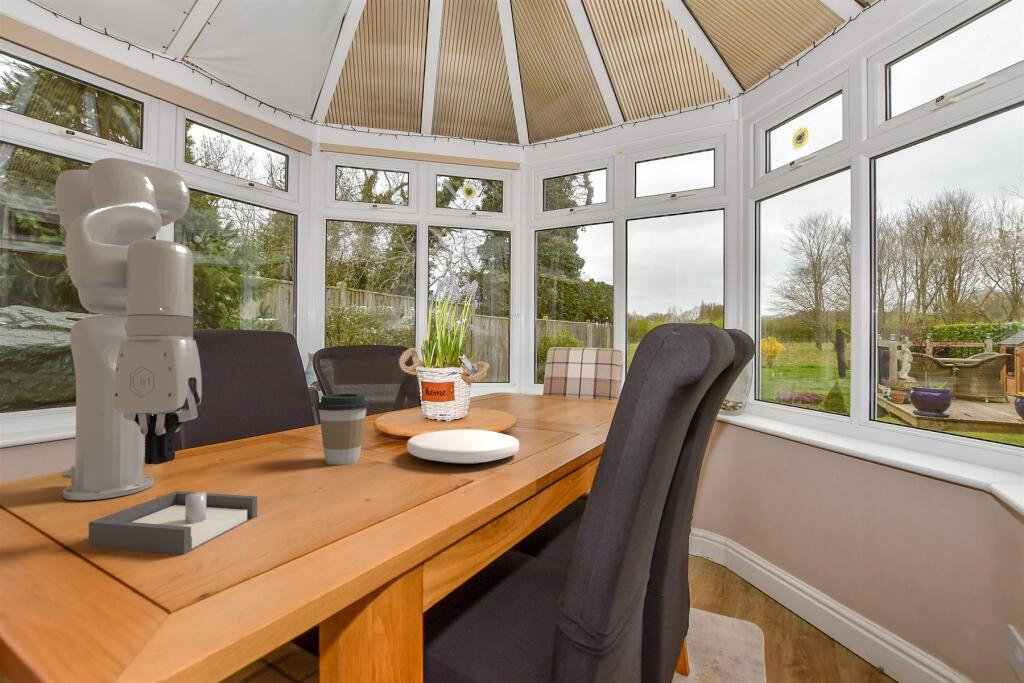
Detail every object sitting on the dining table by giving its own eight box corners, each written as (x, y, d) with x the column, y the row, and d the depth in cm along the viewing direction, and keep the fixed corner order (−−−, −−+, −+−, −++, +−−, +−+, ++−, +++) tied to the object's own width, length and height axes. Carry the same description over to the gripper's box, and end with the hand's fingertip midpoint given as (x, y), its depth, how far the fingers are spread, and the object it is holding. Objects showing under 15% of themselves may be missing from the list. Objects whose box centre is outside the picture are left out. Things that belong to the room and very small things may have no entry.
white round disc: (433, 425, 132) (528, 430, 127) (431, 449, 132) (527, 455, 126) (387, 432, 105) (506, 439, 100) (385, 462, 105) (504, 471, 99)
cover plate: (110, 541, 62) (110, 503, 62) (175, 514, 72) (175, 481, 72) (191, 548, 61) (192, 509, 61) (247, 520, 70) (247, 485, 71)
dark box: (88, 553, 61) (88, 522, 61) (176, 516, 74) (176, 491, 74) (183, 562, 59) (184, 529, 59) (256, 523, 72) (257, 496, 72)
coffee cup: (373, 455, 116) (374, 393, 116) (360, 467, 105) (361, 398, 105) (325, 455, 115) (326, 393, 115) (307, 467, 104) (308, 398, 104)
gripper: (87, 330, 65) (86, 467, 64) (185, 328, 62) (185, 470, 62) (139, 332, 72) (138, 455, 71) (228, 330, 70) (228, 457, 69)
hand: (160, 461), depth 67 cm, fingers closed
